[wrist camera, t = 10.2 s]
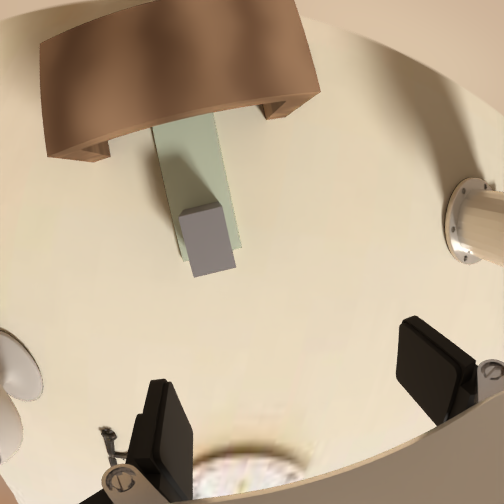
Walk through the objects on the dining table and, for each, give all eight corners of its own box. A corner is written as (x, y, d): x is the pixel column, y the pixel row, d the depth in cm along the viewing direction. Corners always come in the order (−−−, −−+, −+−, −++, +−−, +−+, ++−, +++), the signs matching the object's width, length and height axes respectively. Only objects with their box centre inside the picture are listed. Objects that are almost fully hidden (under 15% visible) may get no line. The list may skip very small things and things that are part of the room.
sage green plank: (197, 41, 26) (197, 9, 19) (240, 245, 31) (251, 263, 25) (141, 54, 25) (127, 25, 18) (183, 259, 31) (179, 281, 24)
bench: (264, 34, 26) (288, -15, 16) (285, 117, 29) (320, 91, 19) (81, 76, 24) (40, 43, 15) (93, 162, 27) (47, 156, 17)
